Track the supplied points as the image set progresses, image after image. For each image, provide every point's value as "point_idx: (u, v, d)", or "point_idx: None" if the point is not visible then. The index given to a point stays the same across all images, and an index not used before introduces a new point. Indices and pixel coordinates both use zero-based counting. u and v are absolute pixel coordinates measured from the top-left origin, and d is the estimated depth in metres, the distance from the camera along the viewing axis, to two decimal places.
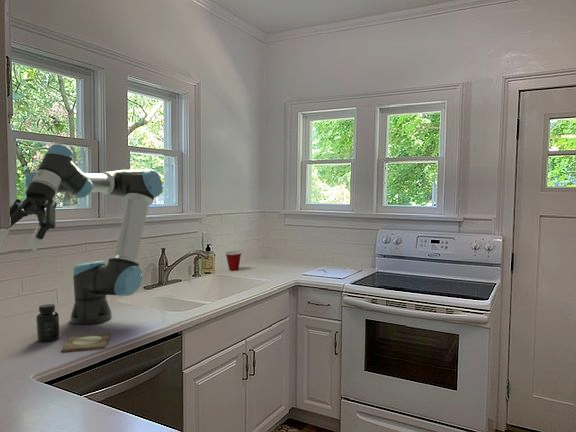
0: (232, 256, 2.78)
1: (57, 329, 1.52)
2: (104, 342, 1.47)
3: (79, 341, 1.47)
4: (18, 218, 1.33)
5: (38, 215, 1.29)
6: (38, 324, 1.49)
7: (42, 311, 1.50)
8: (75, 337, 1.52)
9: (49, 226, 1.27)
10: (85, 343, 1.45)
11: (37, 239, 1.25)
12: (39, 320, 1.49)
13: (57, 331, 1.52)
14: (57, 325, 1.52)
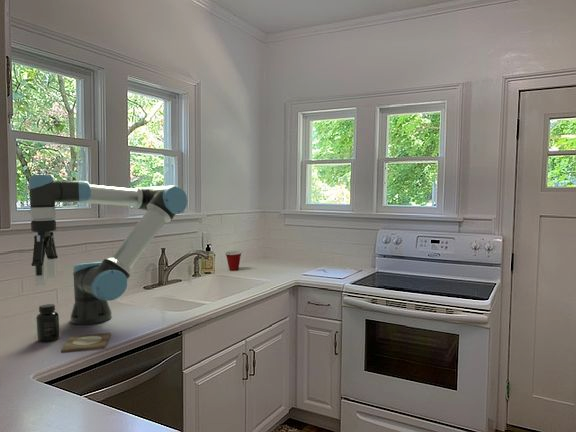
0: (232, 256, 2.78)
1: (57, 329, 1.52)
2: (104, 342, 1.47)
3: (79, 341, 1.47)
4: (49, 249, 1.55)
5: None
6: (38, 324, 1.49)
7: (42, 311, 1.50)
8: (75, 337, 1.52)
9: (36, 264, 1.42)
10: (85, 343, 1.45)
11: (40, 276, 1.44)
12: (39, 320, 1.49)
13: (57, 331, 1.52)
14: (57, 325, 1.52)
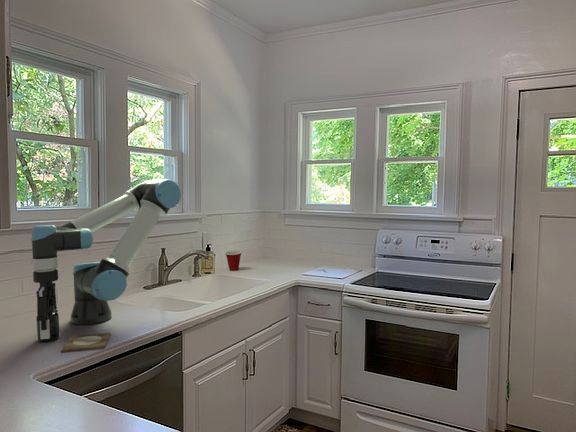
0: (232, 256, 2.78)
1: (57, 329, 1.52)
2: (104, 342, 1.47)
3: (79, 341, 1.47)
4: (50, 301, 1.55)
5: None
6: (38, 324, 1.49)
7: None
8: (75, 337, 1.52)
9: (41, 320, 1.46)
10: (85, 343, 1.45)
11: (44, 330, 1.49)
12: None
13: (57, 331, 1.52)
14: (57, 325, 1.52)
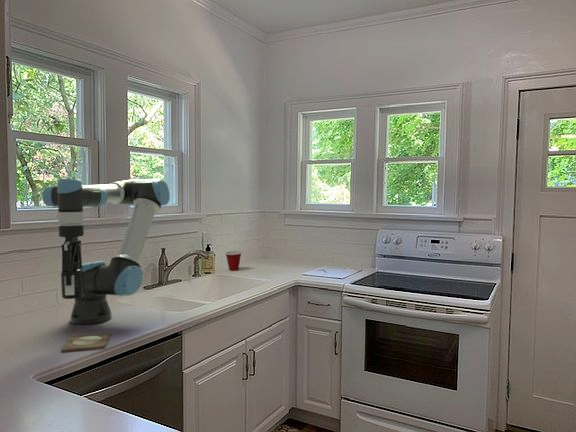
0: (232, 256, 2.78)
1: (81, 286, 1.47)
2: (104, 342, 1.47)
3: (79, 341, 1.47)
4: (75, 258, 1.50)
5: None
6: (62, 280, 1.45)
7: None
8: (75, 337, 1.52)
9: (66, 274, 1.41)
10: (85, 343, 1.45)
11: (69, 286, 1.44)
12: None
13: (81, 288, 1.48)
14: (82, 282, 1.48)
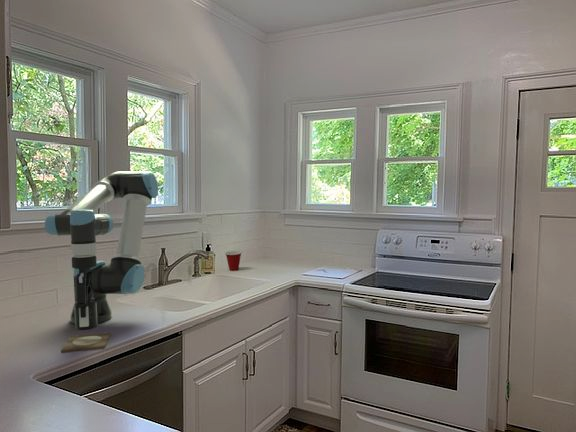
0: (232, 256, 2.78)
1: (95, 317, 1.48)
2: (104, 342, 1.47)
3: (79, 341, 1.47)
4: (88, 288, 1.50)
5: None
6: (76, 311, 1.45)
7: None
8: (75, 337, 1.52)
9: (81, 307, 1.41)
10: (85, 343, 1.45)
11: (84, 317, 1.44)
12: None
13: (95, 319, 1.48)
14: (95, 313, 1.48)
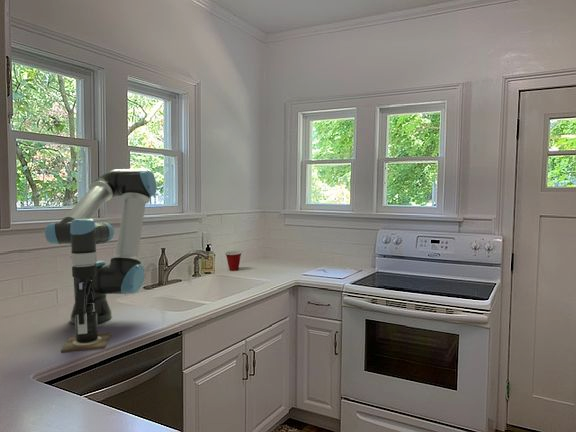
0: (232, 256, 2.78)
1: (96, 330, 1.48)
2: (104, 342, 1.47)
3: None
4: (89, 294, 1.52)
5: None
6: None
7: None
8: (75, 337, 1.52)
9: (79, 313, 1.39)
10: (85, 343, 1.45)
11: (82, 324, 1.41)
12: None
13: (96, 331, 1.48)
14: (96, 325, 1.48)
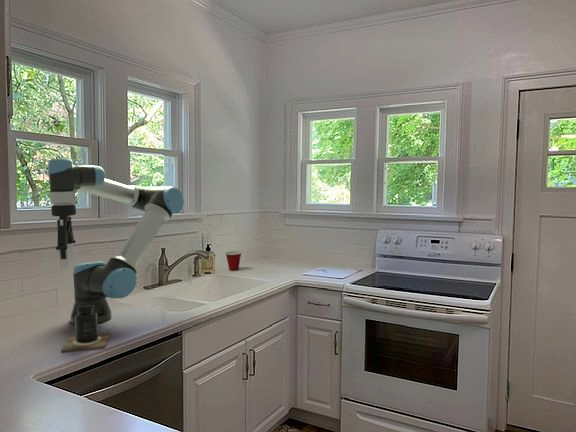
0: (232, 256, 2.78)
1: (96, 330, 1.48)
2: (104, 342, 1.47)
3: None
4: (68, 234, 1.56)
5: None
6: (77, 324, 1.45)
7: (81, 311, 1.46)
8: (75, 337, 1.52)
9: (61, 248, 1.43)
10: (85, 343, 1.45)
11: (64, 259, 1.46)
12: (78, 320, 1.45)
13: (96, 331, 1.48)
14: (96, 325, 1.48)
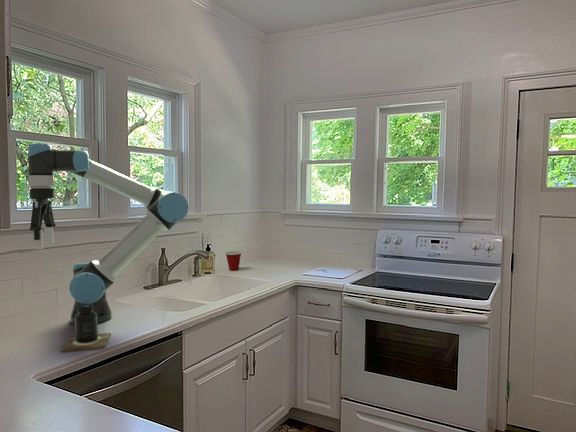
0: (232, 256, 2.78)
1: (96, 330, 1.48)
2: (104, 342, 1.47)
3: None
4: (47, 217, 1.61)
5: None
6: (77, 324, 1.45)
7: (81, 311, 1.45)
8: (75, 337, 1.52)
9: (34, 229, 1.48)
10: (85, 343, 1.45)
11: (38, 240, 1.50)
12: (77, 320, 1.45)
13: (96, 331, 1.48)
14: (96, 325, 1.48)
